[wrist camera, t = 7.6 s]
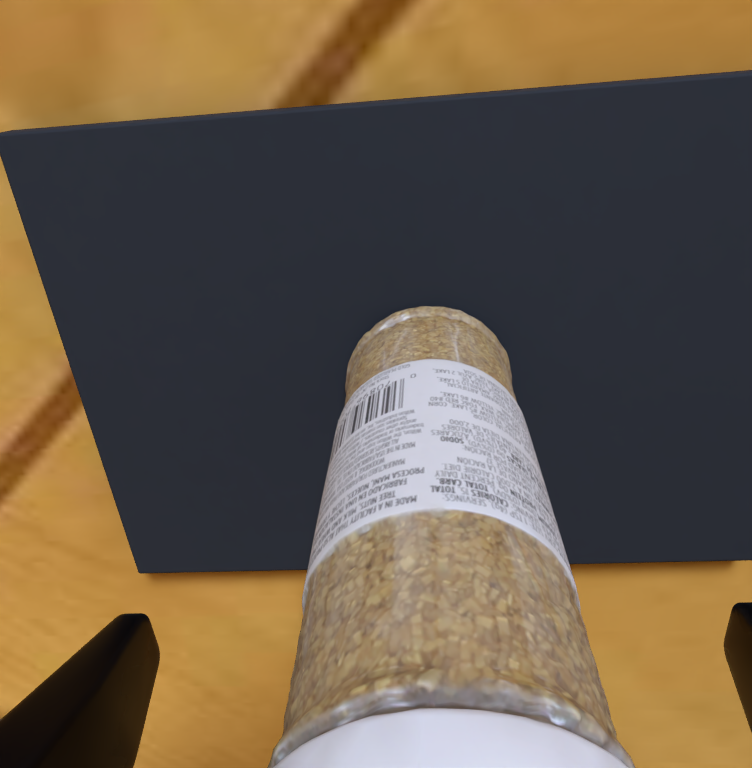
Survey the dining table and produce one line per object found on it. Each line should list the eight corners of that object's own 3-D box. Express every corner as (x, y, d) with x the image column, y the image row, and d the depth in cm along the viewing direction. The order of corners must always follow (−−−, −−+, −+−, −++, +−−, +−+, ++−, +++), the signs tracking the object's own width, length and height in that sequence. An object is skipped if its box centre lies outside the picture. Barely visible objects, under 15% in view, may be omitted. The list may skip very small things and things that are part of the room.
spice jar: (402, 470, 19) (383, 1173, 7) (313, 352, 17) (93, 1009, 5) (542, 400, 18) (807, 1121, 6) (460, 265, 16) (596, 885, 4)
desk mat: (743, 543, 21) (754, 561, 20) (147, 557, 22) (138, 574, 22) (860, 61, 14) (884, 61, 13) (10, 130, 16) (-9, 134, 15)
